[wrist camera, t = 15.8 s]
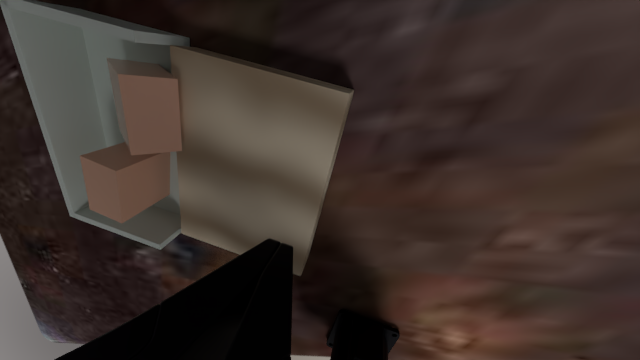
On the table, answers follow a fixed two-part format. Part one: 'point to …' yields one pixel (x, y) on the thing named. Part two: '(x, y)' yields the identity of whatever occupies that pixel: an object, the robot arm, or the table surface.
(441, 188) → the table surface
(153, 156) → the tile
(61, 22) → the tray
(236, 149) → the beige flat panel
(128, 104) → the tile
